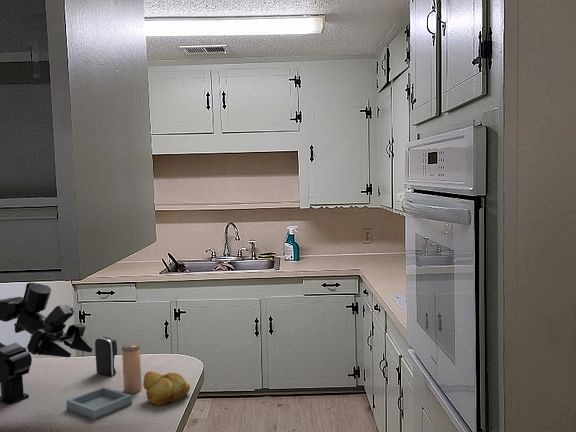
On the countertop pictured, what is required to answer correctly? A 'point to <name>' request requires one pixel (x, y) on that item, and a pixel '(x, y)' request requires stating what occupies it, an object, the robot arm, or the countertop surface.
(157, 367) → the countertop surface
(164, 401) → the bread roll
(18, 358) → the robot arm
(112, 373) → the battery charger
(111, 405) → the tray
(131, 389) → the jar
